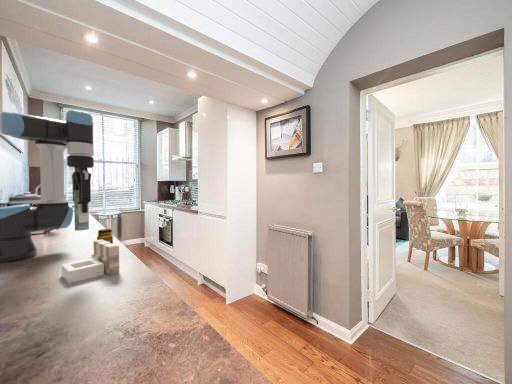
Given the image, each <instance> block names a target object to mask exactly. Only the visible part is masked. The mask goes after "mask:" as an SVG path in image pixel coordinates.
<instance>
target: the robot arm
mask: <svg viewBox="0 0 512 384" xmlns="http://www.w3.org/2000/svg"><path fill="white" fill-rule="evenodd" d="M65 114H66V115H65V121H64V120H60V119H56V118H49V117H45V116H37V115H31V114H27V113H17V112H8V111H2V112H0V133H1V134H2V135H4V136H9V137H13V138H15V139H20V140H25V141H31V142H34V143H35V146H36V147H37V148H38V149H39V165H40V166H39V167H40V173H39V174H40V199H39V200H38V201H37V202H36V206H32V205H31V204H30V203H24V204H15V205H9V206H8V205H7V206H1V207H0V263H8V262H15V261H20V260H25V259H29V258H32V257H35V256H36V255H37V254H38V250H37V249H38V248H37V247H36V245H35V242H34V241H33V239H32V233H34V232H42V231H43V232H45V231H51V230H53V231H54V230H60V229H66V228H68V227H70V225H71V223H72V221H73V215H74V210H73V209H74V208H73V205H71V204H69V200H66V198H65V177H64V176H65V174H64V173H65V172H64V168H65V167H64V151H65V150H66V154H67V156H66V165H67V166H68V167H69V168H74V171H73V172H72V174H71V179H72V180H71V181H72V201H73V202H74V190H79V202H77V204H79V223H83V222H89V223H90V215H89V213H90V211H89V209H90V208H89V206H90V205H89V203H90V202H92V199H91V197H92V196H91V194H92V193H91V192H92V191H91V184H92V183H91V182H92V181H91V179H92V173H90V172H89V169H91V168H94V166H95V165H94V164H95V163H94V159H95V158H94V157H93V156H95V155H94V154H95V153H94V152H95V151H94V149H95V147H94V121H93V120H94V119H93V116H92V114H90V113H89V112H86V111H82V110H76V109H75V110H74V109H70V110H67V111H66V113H65Z"/></svg>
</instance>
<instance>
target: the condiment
mask: <svg viewBox="0 0 512 384" xmlns="http://www.w3.org/2000/svg"><path fill="white" fill-rule="evenodd" d="M101 239H102V240H105V241H108V242H110V243H113V244H114V242H113V241H114V240H113V239H114V235H113V232H112V229H111V228H102V229H98V231H97V236H96V240H101ZM93 258H94V254H91V258H90V259H93Z"/></svg>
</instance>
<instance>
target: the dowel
mask: <svg viewBox="0 0 512 384" xmlns="http://www.w3.org/2000/svg"><path fill="white" fill-rule="evenodd" d="M77 202H79V190H74V201H73V204H74V205H73V206H74V208H73V209H74V210H73V215H74V231H87V230H89V229H90V221H89V222H83V223H79V204H77Z"/></svg>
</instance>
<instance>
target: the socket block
mask: <svg viewBox="0 0 512 384" xmlns="http://www.w3.org/2000/svg"><path fill="white" fill-rule="evenodd" d="M104 275H105V272H104V263H102V262H100V261H99V260H97V259H96V258H93V259H91V258H88V259H83V260H80V261H79V260H78V261H73V262H69V263H63V264H61V277H62V278H63V279H64V280H65V281H66V282H67V283H68V284H73V283H77V282H80V281H85V280H89V279H92V278H96V277H99V276H104Z"/></svg>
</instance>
